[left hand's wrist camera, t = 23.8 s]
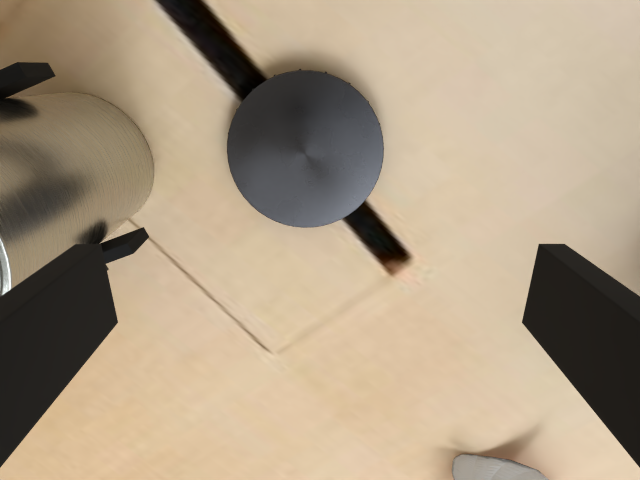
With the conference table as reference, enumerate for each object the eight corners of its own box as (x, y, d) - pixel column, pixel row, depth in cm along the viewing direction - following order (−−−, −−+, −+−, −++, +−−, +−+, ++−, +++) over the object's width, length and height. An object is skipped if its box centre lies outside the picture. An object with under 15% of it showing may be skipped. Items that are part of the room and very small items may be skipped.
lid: (254, 233, 34) (251, 241, 32) (210, 89, 30) (205, 91, 28) (390, 204, 33) (394, 210, 32) (366, 53, 29) (369, 52, 27)
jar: (42, 62, 29) (-325, 55, 12) (176, 142, 31) (23, 229, 14) (-2, 182, 32) (-341, 307, 15) (123, 246, 34) (-53, 417, 18)
